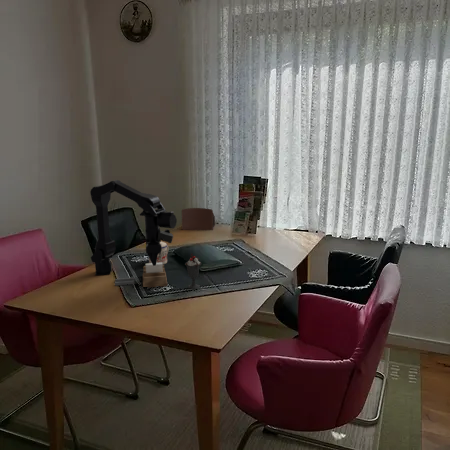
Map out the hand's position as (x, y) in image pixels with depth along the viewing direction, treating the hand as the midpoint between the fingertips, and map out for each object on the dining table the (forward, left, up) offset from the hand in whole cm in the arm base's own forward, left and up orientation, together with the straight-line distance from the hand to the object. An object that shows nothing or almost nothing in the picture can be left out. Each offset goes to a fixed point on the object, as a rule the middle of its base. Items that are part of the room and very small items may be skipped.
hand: (154, 262), depth 181 cm
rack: (0, 0, -8) cm, 8 cm away
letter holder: (+31, +88, -9) cm, 94 cm away
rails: (-13, 0, -8) cm, 15 cm away
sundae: (+15, -11, -8) cm, 21 cm away
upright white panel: (0, 0, -7) cm, 7 cm away
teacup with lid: (+3, +25, -8) cm, 27 cm away
